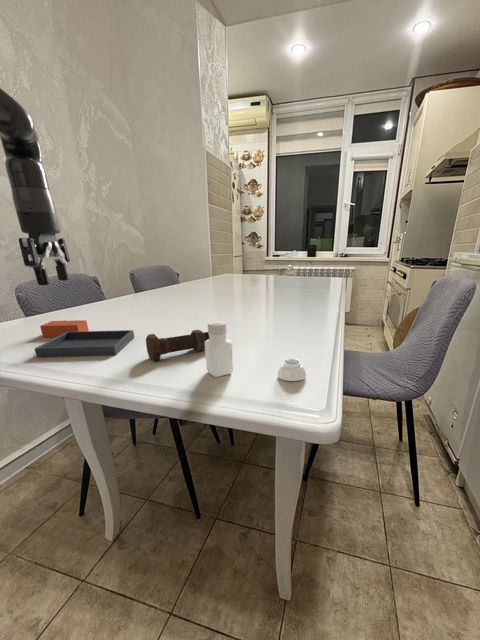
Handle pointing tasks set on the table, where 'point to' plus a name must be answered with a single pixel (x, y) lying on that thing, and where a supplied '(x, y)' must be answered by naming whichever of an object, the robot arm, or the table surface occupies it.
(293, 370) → the lidless jar
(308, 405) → the table surface
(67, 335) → the tray
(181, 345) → the bolt
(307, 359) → the table surface
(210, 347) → the white square bottle
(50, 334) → the pad
